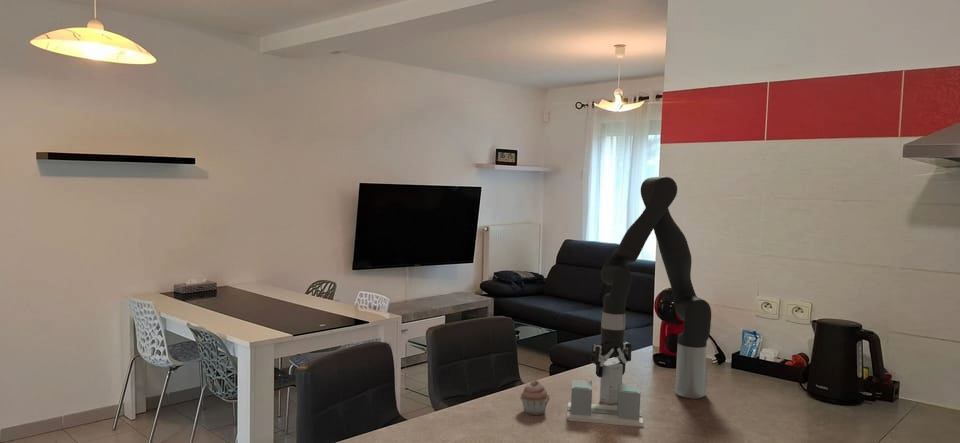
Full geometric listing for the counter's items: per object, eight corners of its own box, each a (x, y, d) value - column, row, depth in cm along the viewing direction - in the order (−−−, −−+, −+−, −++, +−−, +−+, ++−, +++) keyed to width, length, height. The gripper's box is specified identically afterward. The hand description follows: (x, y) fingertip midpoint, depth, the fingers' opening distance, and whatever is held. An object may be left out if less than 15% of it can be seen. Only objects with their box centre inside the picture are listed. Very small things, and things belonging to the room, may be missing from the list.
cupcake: (515, 414, 189) (516, 382, 188) (524, 404, 198) (524, 373, 197) (545, 419, 186) (546, 386, 185) (552, 408, 194) (554, 377, 194)
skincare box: (608, 404, 199) (610, 367, 198) (598, 400, 203) (600, 363, 202) (622, 401, 202) (623, 364, 202) (612, 397, 206) (613, 361, 205)
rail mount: (639, 411, 194) (641, 382, 193) (643, 426, 182) (644, 395, 181) (568, 405, 197) (569, 376, 196) (567, 420, 185) (568, 389, 185)
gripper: (623, 322, 208) (620, 370, 209) (588, 324, 202) (585, 374, 203) (638, 327, 201) (635, 377, 202) (601, 330, 195) (599, 381, 196)
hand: (610, 375), depth 202 cm, fingers open, 8 cm apart
